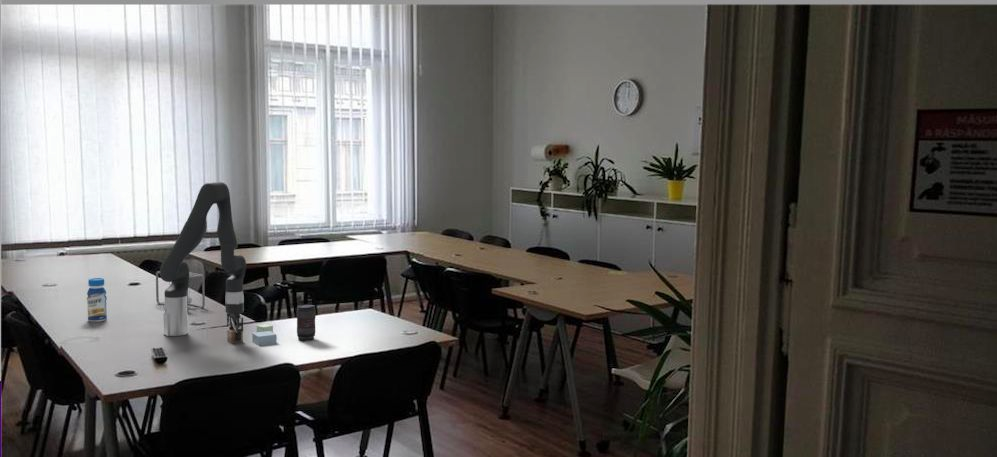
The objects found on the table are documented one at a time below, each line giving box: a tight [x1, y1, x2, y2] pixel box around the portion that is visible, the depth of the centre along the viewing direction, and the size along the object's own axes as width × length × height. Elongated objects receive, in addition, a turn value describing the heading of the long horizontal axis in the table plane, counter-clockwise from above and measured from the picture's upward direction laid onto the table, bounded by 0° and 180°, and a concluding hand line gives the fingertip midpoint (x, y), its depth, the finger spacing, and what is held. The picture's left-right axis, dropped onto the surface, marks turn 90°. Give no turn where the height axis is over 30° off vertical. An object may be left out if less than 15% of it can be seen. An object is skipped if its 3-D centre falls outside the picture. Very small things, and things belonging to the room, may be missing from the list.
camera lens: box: [296, 304, 317, 342], centre depth 348 cm, size 8×8×15 cm
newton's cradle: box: [155, 270, 206, 311], centre depth 416 cm, size 30×10×18 cm, turn 52°
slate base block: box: [251, 331, 277, 346], centre depth 342 cm, size 8×8×4 cm
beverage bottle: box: [86, 277, 108, 323], centre depth 378 cm, size 8×8×20 cm
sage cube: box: [256, 323, 274, 333], centre depth 352 cm, size 5×5×5 cm
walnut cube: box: [226, 328, 244, 344], centre depth 342 cm, size 5×5×5 cm
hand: (235, 339), depth 342 cm, fingers open, 7 cm apart
